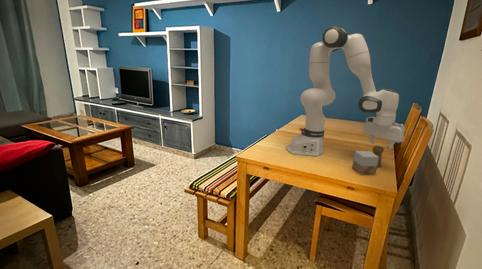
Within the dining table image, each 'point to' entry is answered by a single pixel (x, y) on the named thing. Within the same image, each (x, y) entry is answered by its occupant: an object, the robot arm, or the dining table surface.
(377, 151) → the cork
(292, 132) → the dining table surface
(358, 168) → the walnut block
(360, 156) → the grey block
